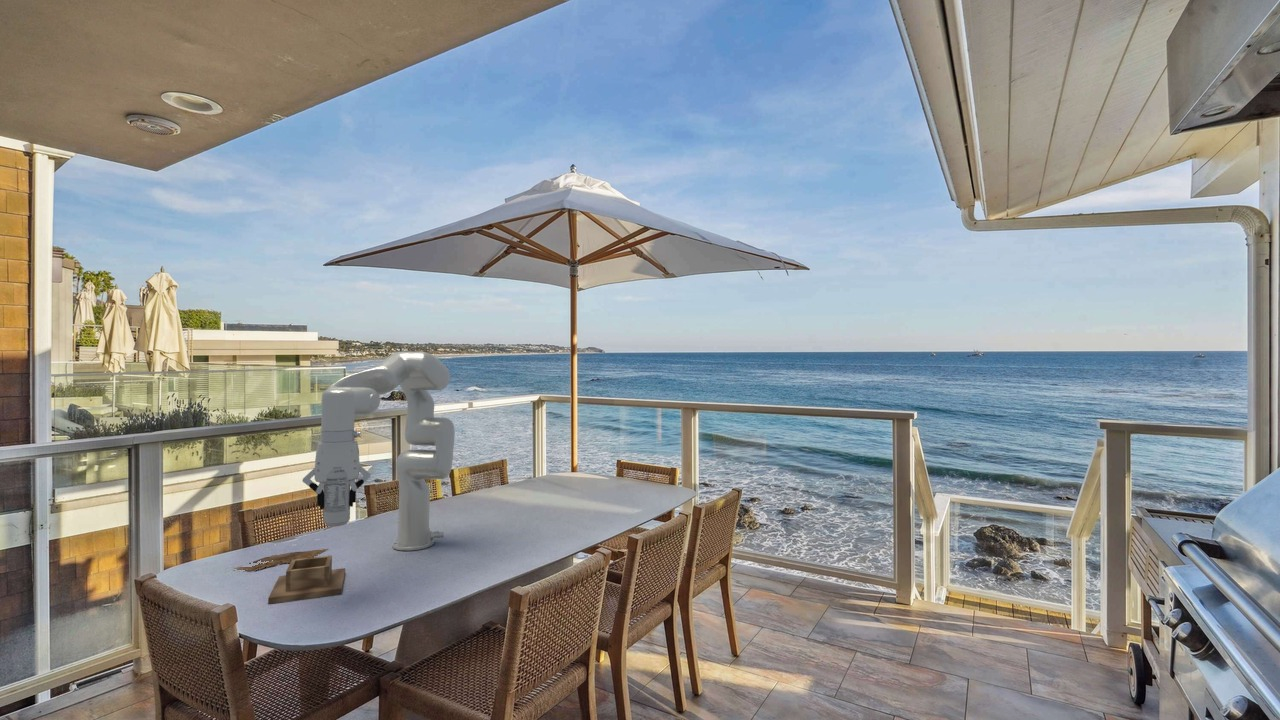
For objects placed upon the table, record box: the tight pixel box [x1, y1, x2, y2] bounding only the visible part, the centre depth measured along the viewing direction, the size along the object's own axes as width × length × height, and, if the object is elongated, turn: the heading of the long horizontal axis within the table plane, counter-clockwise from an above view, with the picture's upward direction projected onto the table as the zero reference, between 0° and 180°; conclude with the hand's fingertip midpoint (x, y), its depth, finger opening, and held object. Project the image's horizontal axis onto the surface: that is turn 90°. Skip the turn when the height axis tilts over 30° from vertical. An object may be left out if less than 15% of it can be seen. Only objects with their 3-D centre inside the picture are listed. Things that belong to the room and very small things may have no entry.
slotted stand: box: [267, 555, 346, 605], centre depth 149 cm, size 16×16×6 cm
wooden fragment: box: [233, 548, 329, 572], centre depth 170 cm, size 26×11×1 cm, turn 138°
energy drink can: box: [322, 467, 351, 528], centre depth 144 cm, size 6×6×15 cm
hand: (336, 506), depth 144 cm, fingers closed on energy drink can, 6 cm apart
